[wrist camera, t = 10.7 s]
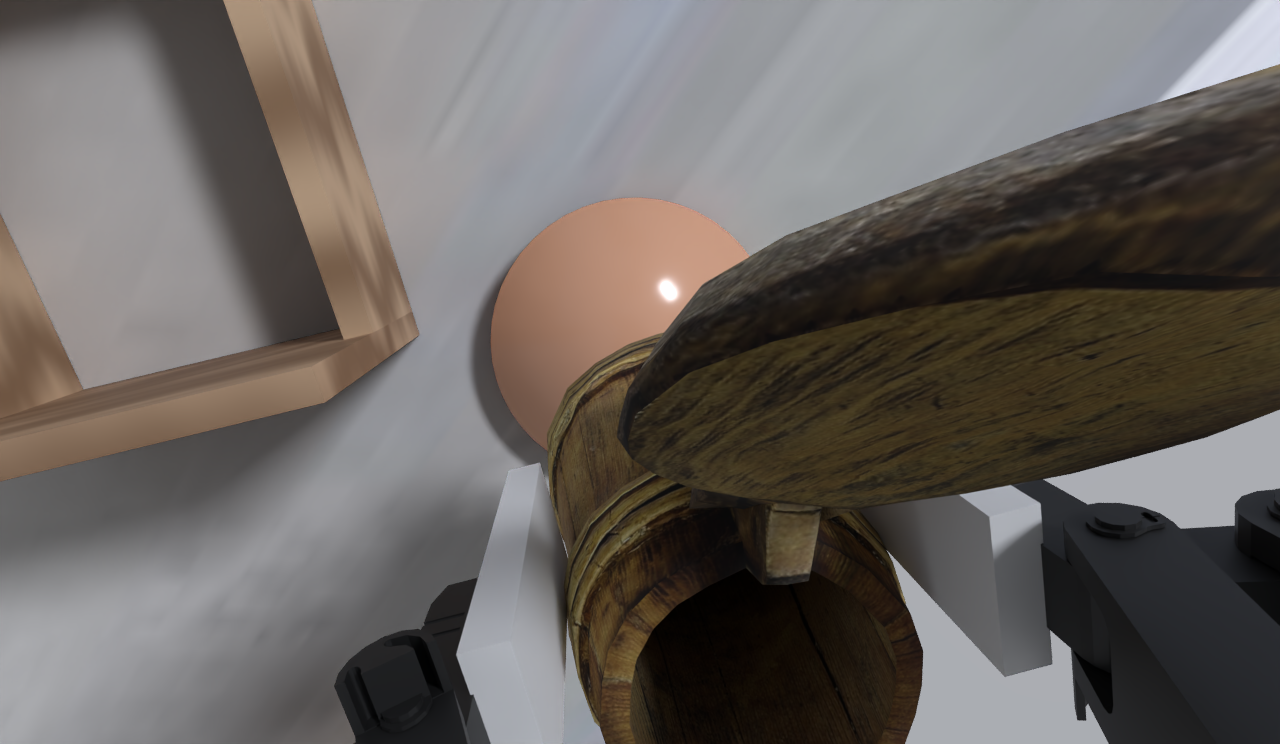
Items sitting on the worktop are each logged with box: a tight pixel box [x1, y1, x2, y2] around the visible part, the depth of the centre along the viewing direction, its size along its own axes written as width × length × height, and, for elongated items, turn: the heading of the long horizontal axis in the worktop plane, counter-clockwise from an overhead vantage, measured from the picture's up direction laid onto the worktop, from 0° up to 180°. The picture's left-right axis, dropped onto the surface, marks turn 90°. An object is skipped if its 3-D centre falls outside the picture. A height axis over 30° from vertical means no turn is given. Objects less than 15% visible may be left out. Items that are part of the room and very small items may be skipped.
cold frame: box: [0, 0, 419, 481], centre depth 23 cm, size 20×17×12 cm
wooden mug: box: [547, 64, 1280, 744], centre depth 13 cm, size 9×14×18 cm, turn 178°
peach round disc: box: [491, 198, 750, 451], centre depth 32 cm, size 14×14×2 cm
